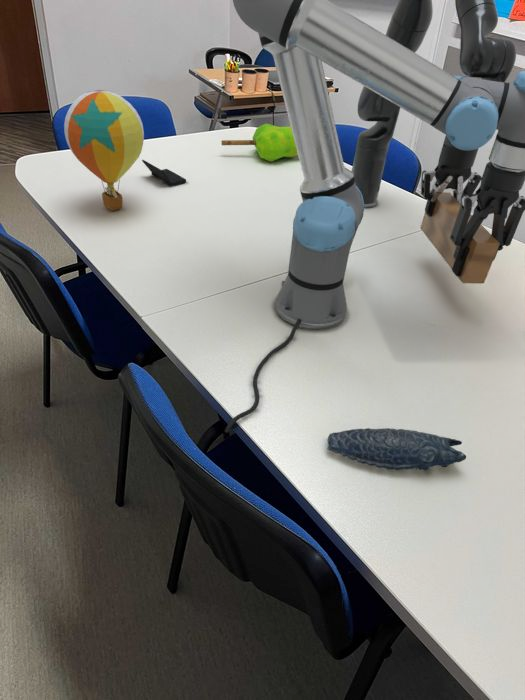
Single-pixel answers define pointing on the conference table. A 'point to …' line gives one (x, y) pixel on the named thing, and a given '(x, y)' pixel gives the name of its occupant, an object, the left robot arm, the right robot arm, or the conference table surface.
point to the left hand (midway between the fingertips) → (468, 273)
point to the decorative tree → (270, 142)
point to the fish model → (395, 448)
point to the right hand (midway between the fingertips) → (439, 215)
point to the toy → (105, 138)
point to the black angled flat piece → (165, 175)
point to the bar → (439, 236)
